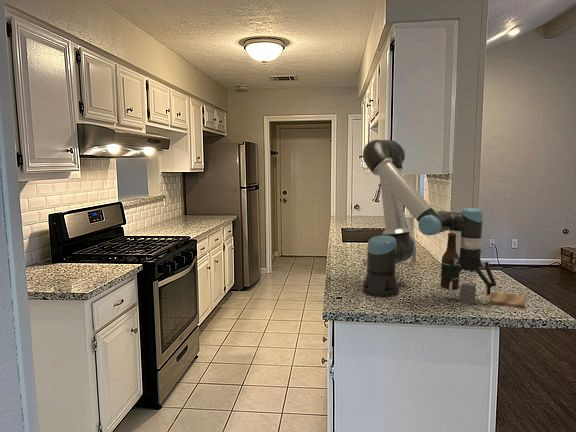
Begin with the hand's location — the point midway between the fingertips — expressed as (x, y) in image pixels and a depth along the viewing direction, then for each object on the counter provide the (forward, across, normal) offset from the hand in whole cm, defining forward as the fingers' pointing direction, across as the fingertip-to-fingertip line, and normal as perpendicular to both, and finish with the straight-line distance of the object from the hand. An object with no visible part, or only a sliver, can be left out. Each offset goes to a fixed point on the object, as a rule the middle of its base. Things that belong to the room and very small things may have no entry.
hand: (467, 300), depth 174 cm
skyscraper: (0, -36, +51) cm, 62 cm away
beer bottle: (0, -9, +16) cm, 18 cm away
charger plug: (0, 0, 0) cm, 0 cm away
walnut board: (0, +14, +6) cm, 15 cm away
